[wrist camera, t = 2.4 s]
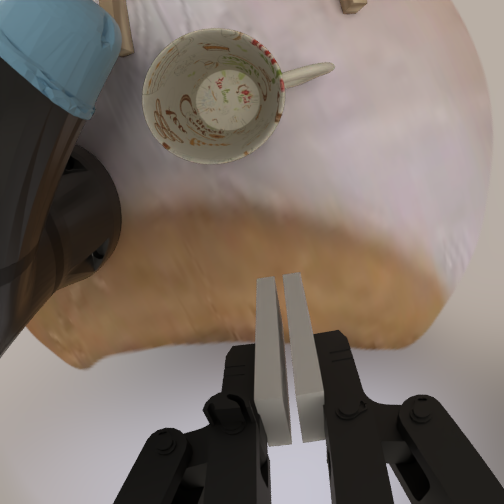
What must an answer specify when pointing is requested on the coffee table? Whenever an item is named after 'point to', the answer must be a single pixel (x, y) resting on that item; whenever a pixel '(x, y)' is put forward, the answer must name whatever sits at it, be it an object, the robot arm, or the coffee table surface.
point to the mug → (217, 95)
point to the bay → (116, 7)
